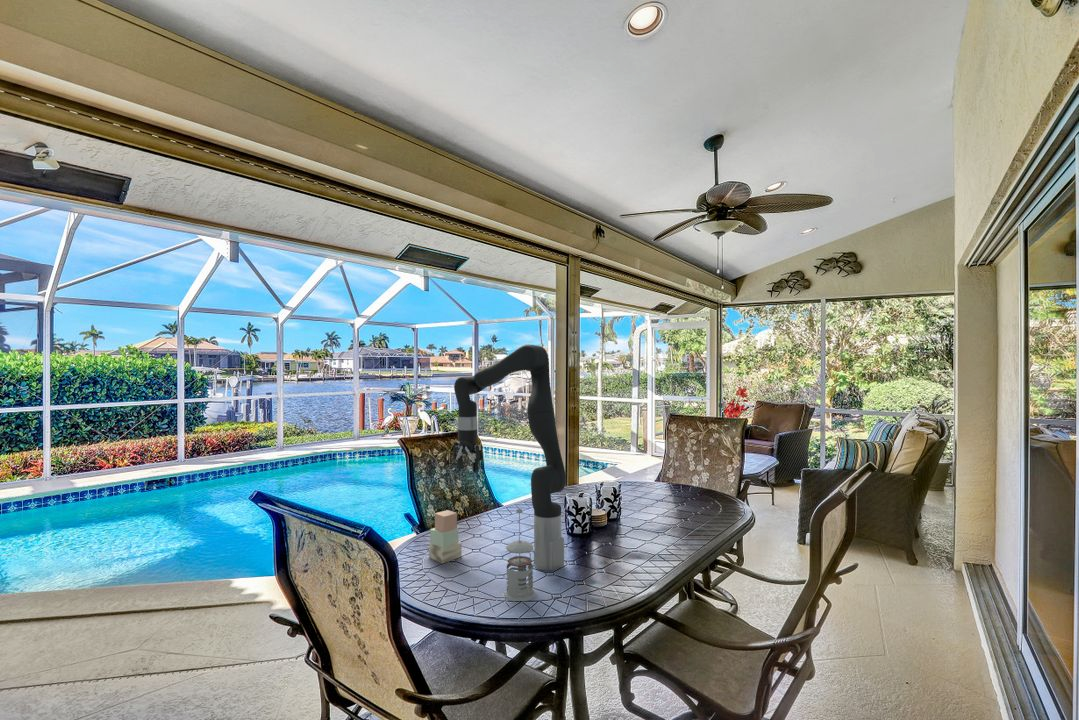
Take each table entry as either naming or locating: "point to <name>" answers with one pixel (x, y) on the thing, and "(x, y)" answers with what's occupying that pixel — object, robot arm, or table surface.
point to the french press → (520, 571)
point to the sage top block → (444, 537)
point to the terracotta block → (445, 521)
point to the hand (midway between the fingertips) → (467, 470)
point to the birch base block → (445, 552)
